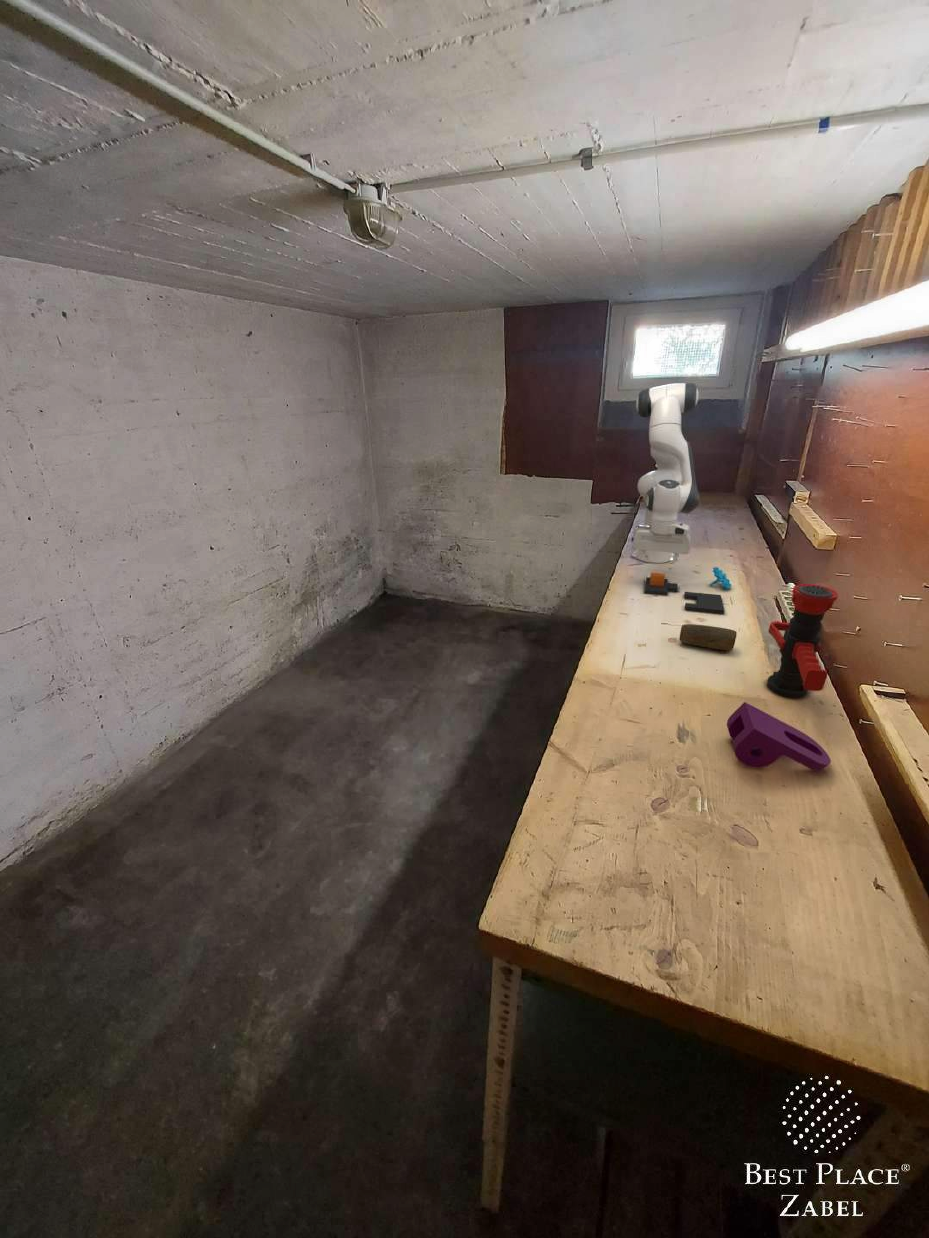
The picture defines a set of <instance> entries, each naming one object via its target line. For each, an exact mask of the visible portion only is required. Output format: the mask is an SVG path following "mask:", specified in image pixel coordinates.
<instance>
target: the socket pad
mask: <svg viewBox="0 0 929 1238" xmlns="http://www.w3.org/2000/svg"><path fill="white" fill-rule="evenodd" d="M683 595H684V600H693V601H696V603H694V602H693V603H692V602H685V605H684V610H685V611H687V612H688V611H689V612H698V613H704V614H705V613H706V614H715V615H724V614H725V608H724V603H723V597H722V595H721V594H716V593H715V594H714V593H713V594H712V593H703V592H692V591H684V593H683Z"/></svg>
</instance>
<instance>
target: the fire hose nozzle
mask: <svg viewBox="0 0 929 1238" xmlns="http://www.w3.org/2000/svg"><path fill="white" fill-rule="evenodd" d="M791 592H792V596H791V602H792V604H793V606H794V609H793V613H792V614H793V616H792V617H791V618H790V620H789V622H784V621H780V620H775V621H771V622H770V623H769V627H768V631H767V632H768V633H769V635H770V636H771V637H772V638H773V639H774V641H775V643H776V644H777V646H778V648H779V653H780V655H781V657H780V666H779V669H778V670H777V671H773V673H772V674H771V675H769V676H768V678H767V682H766V688H767V689H768V690H769V691H771V692H772V694H773V693H774V694H776V695H778V696H779V697H783V698H787V699H802V698H803V699H804V698H805V697H806V696H807V694H808V691H813V692H820V691H823V690H824V687H825V683H826V681H827V677H828V672H827V670H826V669H822V666H821V665H820V661H819V659H818V657H817V653H820V652H821V650H822V644H821V638H820V636H819V634H820V632H821V631H822V627H823V623H822V622H821V621H823V619H824V617H825V614H826V613H827V612H828V611H830V610H831V609H832V608H833V605H834V603H835V602H836V601H837V600H838V596H839V593H838V592H837V591H836V590H835V589H832V588H830V587H828V586H824V585H820V584H813V583H812V584H811V583H800V584H797V585H796V584H795V585H794V586H793V588H792V591H791ZM781 631H784V633H783V634H782V633H781Z"/></svg>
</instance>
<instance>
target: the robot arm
mask: <svg viewBox="0 0 929 1238" xmlns="http://www.w3.org/2000/svg"><path fill="white" fill-rule="evenodd" d="M699 397H700V393H699V389H698V388H697V384H695V382H684V383H669V384H668V383H667V384H664V385H660V386H654V387H651V388H650V387H648V388H645V389H642V390H641V391H640V392H639V393H638V395H637V398H636V401H635V407H636V411H637V413H638V415H639V416H640V417H641V418H645V419H649V424H648V425H649V426H648V442H649V445H650V456H651V458H652V459H654V461H655V463H656V467H657V469H656V470H652V471H649V472H647V473H645V474H644V475H642V476H640V478H639V480H638V481H637V491H638V493H639V495H640V496H641V497H642V499H643V502H644V507H645V514H644V515H645V516H644V524H638V525H635V526H634V527H633V530H632V531H633V532H632V534H633V536H631V540H632V545H631V547H632V549H633V550H634V551H633V552H632V553H631V558H634V559H638V560H639V561H642V562H645V563H652V564H653V563H654V564H661V563H667V562H669V565H675V561H676V560H677V558H678V557H679V556H680V554H681V555H682V554H683V555H688V554H689V553H690V551H691V546H692V545H691V544H692V537H691V533H690V525H689V524H687V523H683V522H681V521H678V520H679V519H678V518H679V517H678V513H679V514H690V513H692V512H693V511H695V510H696V508H698V506H699V502H700V494H699V489H698V485H697V484H698V483H697V480H696V479H697V478H696V471H695V470H696V469H695V464H694V456H693V451H692V447H691V443H690V442H689V441H688V440H686V439H685V437H684V435H683V432H682V414H683V417H685V416H687V414H688V413H691V412H692V411H693V410H694V409H696V406H697V404H698V401H699Z"/></svg>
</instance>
